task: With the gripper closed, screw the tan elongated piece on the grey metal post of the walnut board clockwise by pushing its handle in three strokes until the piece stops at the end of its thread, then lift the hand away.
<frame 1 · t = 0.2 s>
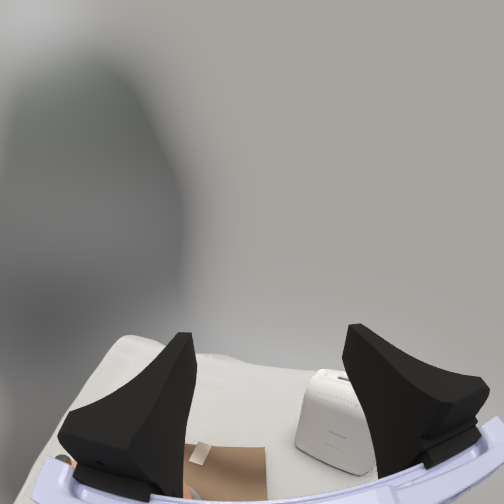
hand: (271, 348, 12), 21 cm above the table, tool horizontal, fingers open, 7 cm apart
tan elongated piece: (118, 487, 14), point 5 cm above the table, hinge at 0.0°
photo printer: (333, 453, 24), on the table
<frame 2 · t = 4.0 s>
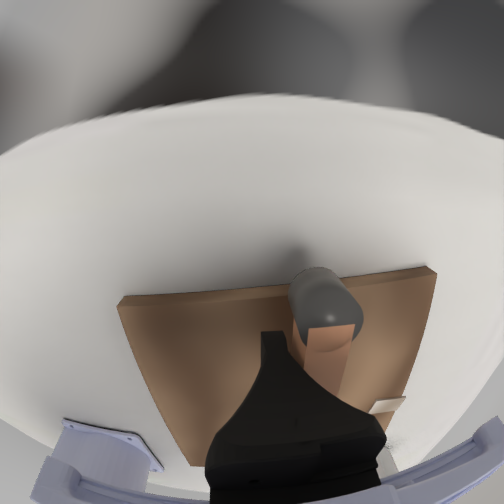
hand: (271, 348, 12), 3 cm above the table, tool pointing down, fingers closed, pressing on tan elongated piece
tan elongated piece: (306, 407, 11), point 4 cm above the table, hinge at 3.8°, touching gripper
walnut base: (287, 397, 17), on the table
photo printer: (351, 465, 23), on the table
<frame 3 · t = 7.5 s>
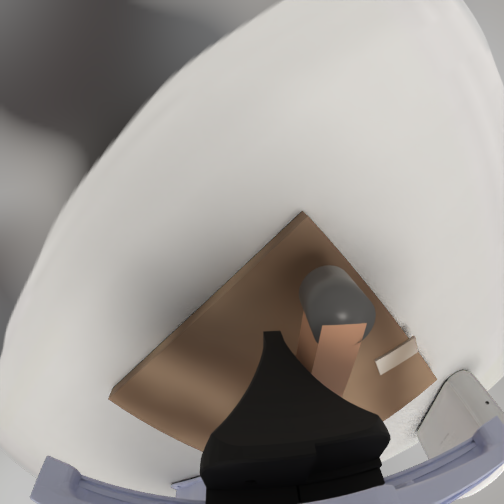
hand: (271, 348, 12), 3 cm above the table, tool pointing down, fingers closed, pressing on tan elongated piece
tan elongated piece: (308, 407, 11), point 5 cm above the table, hinge at 47.2°, touching gripper
walnut base: (285, 396, 17), on the table
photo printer: (440, 402, 20), on the table
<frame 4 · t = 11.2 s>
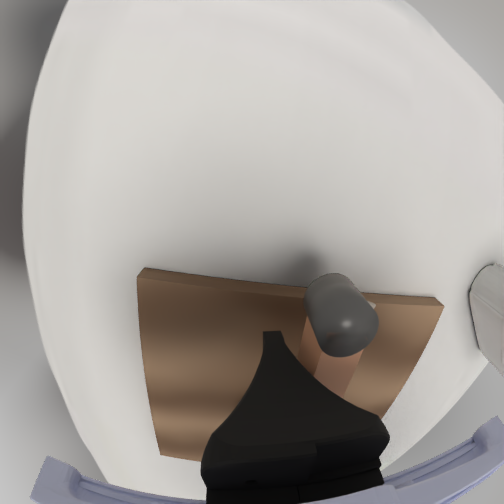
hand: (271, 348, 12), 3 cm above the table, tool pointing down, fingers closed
tan elongated piece: (305, 411, 11), point 4 cm above the table, hinge at 87.3°, touching gripper
walnut base: (280, 399, 17), on the table
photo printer: (485, 309, 16), on the table
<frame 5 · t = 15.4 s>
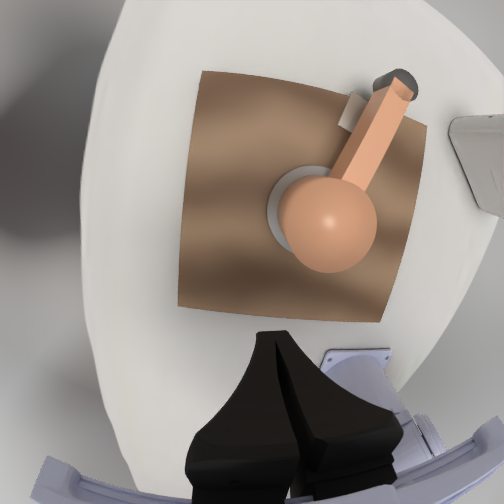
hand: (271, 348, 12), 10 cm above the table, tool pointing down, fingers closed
tan elongated piece: (358, 159, 15), point 5 cm above the table, hinge at 110.0°
walnut base: (306, 207, 20), on the table
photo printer: (471, 163, 19), on the table
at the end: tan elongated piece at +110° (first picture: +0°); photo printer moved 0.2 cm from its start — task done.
